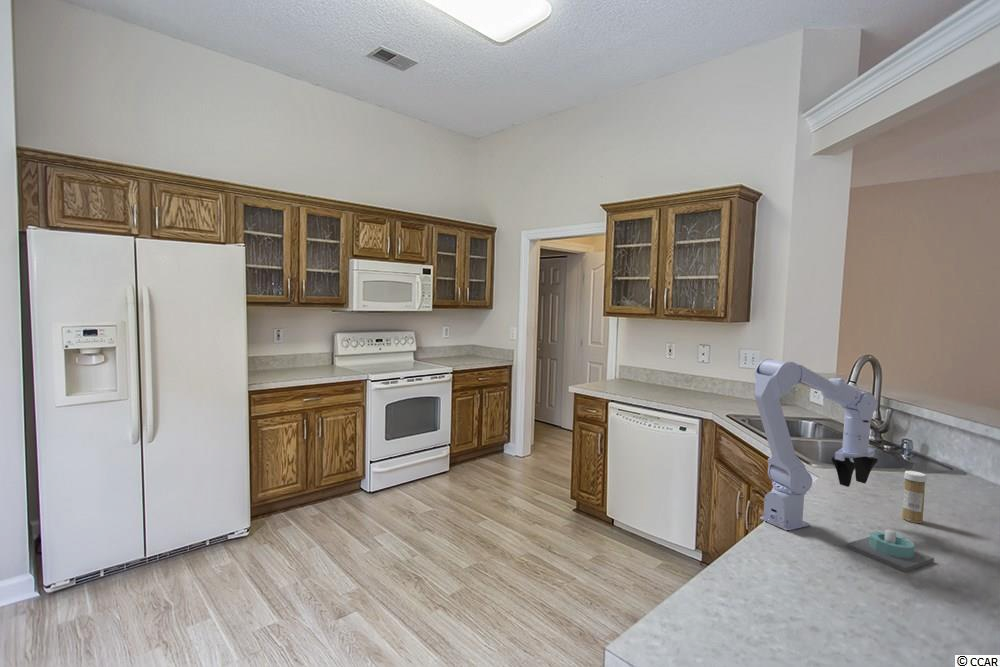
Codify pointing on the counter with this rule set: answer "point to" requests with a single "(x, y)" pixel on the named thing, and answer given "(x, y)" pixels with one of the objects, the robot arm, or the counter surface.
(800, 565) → the counter surface
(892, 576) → the counter surface
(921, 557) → the pin board
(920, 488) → the sprinkles bottle
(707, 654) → the counter surface
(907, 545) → the ring
